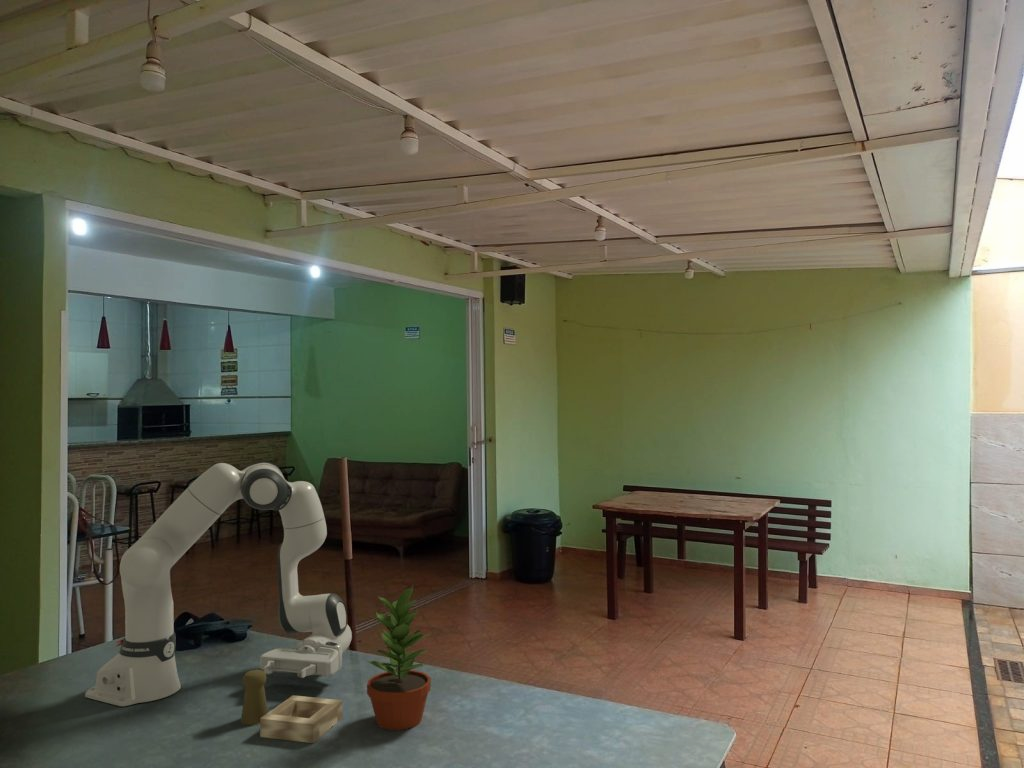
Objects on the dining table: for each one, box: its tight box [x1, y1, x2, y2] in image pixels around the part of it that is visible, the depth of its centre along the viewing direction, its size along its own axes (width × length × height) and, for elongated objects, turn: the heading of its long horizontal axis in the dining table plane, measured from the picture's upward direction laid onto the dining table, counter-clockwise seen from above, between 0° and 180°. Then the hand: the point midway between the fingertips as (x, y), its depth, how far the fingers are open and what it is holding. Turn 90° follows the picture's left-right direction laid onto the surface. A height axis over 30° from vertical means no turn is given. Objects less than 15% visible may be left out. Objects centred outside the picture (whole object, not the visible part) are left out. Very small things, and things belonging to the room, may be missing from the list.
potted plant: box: [366, 585, 432, 731], centre depth 169 cm, size 15×15×30 cm
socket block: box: [259, 694, 344, 744], centre depth 166 cm, size 13×13×4 cm
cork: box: [240, 669, 269, 726], centre depth 170 cm, size 6×6×11 cm
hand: (282, 672), depth 182 cm, fingers open, 8 cm apart
